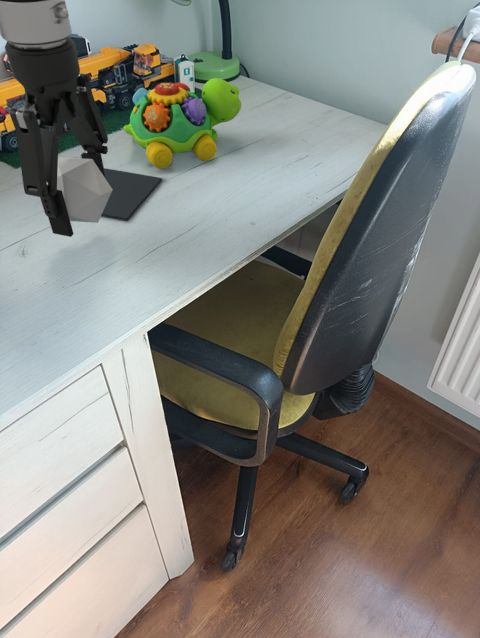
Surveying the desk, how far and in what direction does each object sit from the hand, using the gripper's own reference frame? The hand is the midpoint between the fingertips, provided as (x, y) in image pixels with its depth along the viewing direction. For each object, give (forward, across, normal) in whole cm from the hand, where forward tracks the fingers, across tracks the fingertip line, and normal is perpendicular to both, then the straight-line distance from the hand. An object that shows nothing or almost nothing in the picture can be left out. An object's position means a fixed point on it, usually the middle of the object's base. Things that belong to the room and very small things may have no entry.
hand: (82, 214), depth 74 cm
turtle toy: (+6, +36, -1) cm, 36 cm away
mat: (+6, +15, +5) cm, 17 cm away
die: (0, 0, 0) cm, 0 cm away
